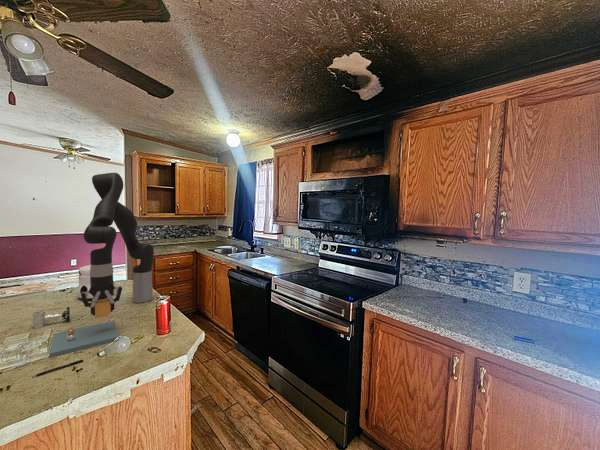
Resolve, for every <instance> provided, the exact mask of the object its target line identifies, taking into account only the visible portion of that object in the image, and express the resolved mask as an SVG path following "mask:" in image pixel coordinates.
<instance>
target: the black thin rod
mask: <svg viewBox="0 0 600 450" xmlns="http://www.w3.org/2000/svg"><path fill="white" fill-rule="evenodd" d="M83 362H84V359H78V360H76V361H74V362H70V363H68V364H64V365H60V366H57V367H55V368H51V369H48V370H45V371H42V372H39V373H37V374H34V375H32V376H31V377H32V379H34V378H36V377H37V378H38V377H40V376H44V375H46V374H50V373H52V372H55V371H60V370H63V369H65V368H68V367H72V366H74V365H78V364H80V363H83Z"/></svg>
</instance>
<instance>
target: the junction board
mask: <svg viewBox="0 0 600 450" xmlns="http://www.w3.org/2000/svg"><path fill="white" fill-rule="evenodd" d="M73 329H74V333H75V334H76V339H75V340H73V341H67V335H68V330H65V331H59V332H55V333H53V337H52V341H51V345H50V350H49V356H48V357H49V358H54V357H58V356H62V355H66V354H70V353H73V352H74V353H75V352H78V351H82V350H86V349H90V348H93V347H97V346H102V345H105V344H108V343H113V341H114V340H115V339H116V338H117V337H118V338H119V334H118V333H119V332H118V329H117V325H116V321H115V320H113V321H112V320H111V321H108V322H102V323H98V324H93V325H89V326H84V327H79V328H73ZM114 342H115V341H114Z"/></svg>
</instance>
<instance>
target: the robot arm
mask: <svg viewBox="0 0 600 450" xmlns="http://www.w3.org/2000/svg"><path fill="white" fill-rule="evenodd" d="M91 182H92V185H93V188H94V189H95V191H96V192H97V194H98V196H99V197H100V199H101V200H99V202H98V203H97V204H96V206H95V208H94V212H93V218H92V219H91V221H90V222H89V223H88V226H87V227H86V228H85V230H84V232H83V240H84V241H85V242H86V243H87V244H91V245H93V244H95V245H96V244H99V245H100V244H105V246H104V247H101V248H95V249H93V250H91V251H90V253H89V254H90V256H89V258H90V260H89V261H90V265H91V266H90V289H89V291H86V292H81V297H82V299H81V300H82V302H83V305H84V307H85V308H88V307H89V308H90V315H92V316H94V317H95V303H96V301H97V300H101V299H109V300H110V302H111V313H113V311H115V303H116V302H119V301H120V299H121V296H122V290H123V287H122V286H121V285H119V286H115V287H114V285H113V281H114V267H113V254H112V253H113V249H114V245H115V241H116V239H117V235H118V234H117V230H118V231H119V234H120V235H121V238H122V240H123V242H124V245H125V247H126V250H127V252H128V253H127V254H128V255H129V257H130V258H131V259H133V260H140V261H139V262H140V263H139V264H137V265H134V266H133V268H132V303H135V304H143V303H142V302H144V303H147V301H148V302H150V301H153V299H154V297H153V296H154V295H153V293H154V292H153V282H152V279H153V274H152V273H153V265H154V255H155V254H154V246H153V245H152V244H150V243H141V242H139V240H138V238H137V235H136V233H137V228H138V222H137V218H136V217H135V215H134V213H133V211H132V210H131V209H130V208H128V207H127V206H125V205H123V204H122V203H120V202H119V199H120V197H121V194H122V193H123V189H124V180H123V178H122V176H121V175H120V174H119V173H118V172H105V173H99V174H94V175H92V177H91ZM113 223H114V224H115V226H116V228H117V230H116V229H115V227H113V226H112V225H113ZM113 290H114V291H115V292H116V295H115V298H113V296H112V294H113V293H114V292H113ZM112 292H113V293H112ZM89 293H90V294H91V295H92V296H94V297H93V299H91V302H89V301H88V300H89V299H87V297H88V294H89ZM111 293H112V294H111ZM149 300H150V301H149Z"/></svg>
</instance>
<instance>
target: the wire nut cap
mask: <svg viewBox="0 0 600 450" xmlns="http://www.w3.org/2000/svg"><path fill="white" fill-rule="evenodd" d="M110 315H112V312H111V302H110V300H109V299H108V298H100V299H97V301H96V303H95V316H94V318H104V317H108V316H110Z"/></svg>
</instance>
